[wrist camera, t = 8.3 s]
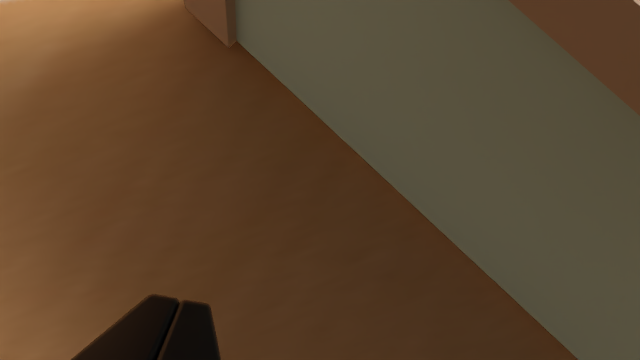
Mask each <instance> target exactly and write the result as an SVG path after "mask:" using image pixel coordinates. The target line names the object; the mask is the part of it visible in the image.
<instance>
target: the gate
mask: <svg viewBox="0 0 640 360" xmlns="http://www.w3.org/2000/svg"><path fill="white" fill-rule="evenodd" d="M184 4H185V8H186V9H187V10H188V11H189V12H191V13H192V14H193V15H194V16H195V17H196V18H197V19H198V20H199V21H200V22H201V23H202V24H203V25H204V26H205V27H207V28H208V29H209V30H210V31H211V32H212V33H213V34H214V35H215V36H216V37H217V38H218V39H219V40H220V41H221V42H223V43H224V44H225V45H226V46H227V47H228V48H229V47H230V46H231V45H233V44H234V43H235V42H236V41H237V42H239V43H240V44H241V45H242V46H243V47H244V48H245V49H246V50H247V51H248V52H249V53H250V54H251V55H252V56H254V57H255V58H256V59H257V60H258V61H259V62H260V63H261V64H262V65H263V66H264V67H265V68H266V69H267V70H269V71H270V72H271V73H272V74H273V75H274V76H275V77H276V78H277V79H278V80H279V81H280V82H281V83H282V84H284V85H285V86H286V87H287V88H288V89H289V90H290V91H291V92H292V93H293V94H294V95H295V96H296V97H297V98H299V99H300V100H301V101H302V102H303V103H304V104H305V105H306V106H307V107H308V108H309V109H310V110H311V111H312V112H314V113H315V114H316V115H317V116H318V117H319V118H320V119H321V120H322V121H323V122H324V123H325V124H326V125H327V126H329V127H330V128H331V129H332V130H333V131H334V132H335V133H336V134H337V135H338V136H339V137H340V138H341V139H342V140H344V141H345V142H346V143H347V144H348V145H349V146H350V147H351V148H352V149H353V150H354V151H355V152H356V153H357V154H359V155H360V156H361V157H362V158H363V159H364V160H365V161H366V162H367V163H368V164H369V165H370V166H371V167H372V168H374V169H375V170H376V171H377V172H378V173H379V174H380V175H381V176H382V177H383V178H384V179H385V180H386V181H388V182H389V183H390V184H391V185H392V186H393V187H394V188H395V189H396V190H397V191H398V192H399V193H400V194H401V195H403V196H404V197H405V198H406V199H407V200H408V201H409V202H410V203H411V204H412V205H413V206H414V207H415V208H416V209H418V210H419V211H420V212H421V213H422V214H423V215H424V216H425V217H426V218H427V219H428V220H429V221H430V222H431V223H433V224H434V225H435V226H436V227H437V228H438V229H439V230H440V231H441V232H442V233H443V234H444V235H445V236H446V237H448V238H449V239H450V240H451V241H452V242H453V243H454V244H455V245H456V246H457V247H458V248H459V249H460V250H461V251H463V252H464V253H465V254H466V255H467V256H468V257H469V258H470V259H471V260H472V261H473V262H474V263H475V264H476V265H478V266H479V267H480V268H481V269H482V270H483V271H484V272H485V273H486V274H487V275H488V276H489V277H490V278H491V279H493V280H494V281H495V282H496V283H497V284H498V285H499V286H500V287H501V288H502V289H503V290H504V291H505V292H506V293H508V294H509V295H510V296H511V297H512V298H513V299H514V300H515V301H516V302H517V303H518V304H519V305H520V306H521V307H523V308H524V309H525V310H526V311H527V312H528V313H529V314H530V315H531V316H532V317H533V318H534V319H535V320H536V321H538V322H539V323H540V324H541V325H542V326H543V327H544V328H545V329H546V330H547V331H548V332H549V333H550V334H551V335H553V336H554V337H555V338H556V339H557V340H558V341H559V342H560V343H561V344H562V345H563V346H564V347H565V348H566V349H568V350H569V351H570V352H571V353H572V354H573V355H574V356H575V357H576V358H577V359H578V360H640V0H184Z"/></svg>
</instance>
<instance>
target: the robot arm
mask: <svg viewBox="0 0 640 360" xmlns="http://www.w3.org/2000/svg"><path fill="white" fill-rule="evenodd" d="M71 360H221V357H220V352H219V347H218V342H217V337H216V332H215V327H214V322H213V317H212V312H211V308H210V306H209V305H208V304H206V303H201V302H196V301H190V300H183V301H181V302H180V303H179V300H178V299H177V298H173V297H167V296H162V295H156V294H152V295H149V296H147V297H146V298H145V299H144V300H142V301H141V302H140V303H139V304H138V305H136V306H135V307H134V308H133V309H132V310H130V311H129V312H128V313H127V314H126V315H124V316H123V317H122V318H121V319H119V320H118V321H117V322H116V323H115V324H113V325H112V326H111V327H110V328H109V329H107V330H106V331H105V332H104V333H103V334H101V335H100V336H99V337H98V338H96V339H95V340H94V341H93V342H92V343H90V344H89V345H88V346H87V347H86V348H84V349H83V350H82V351H81V352H80V353H78V354H77V355H76V356H75V357H73V358H72V359H71Z"/></svg>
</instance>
